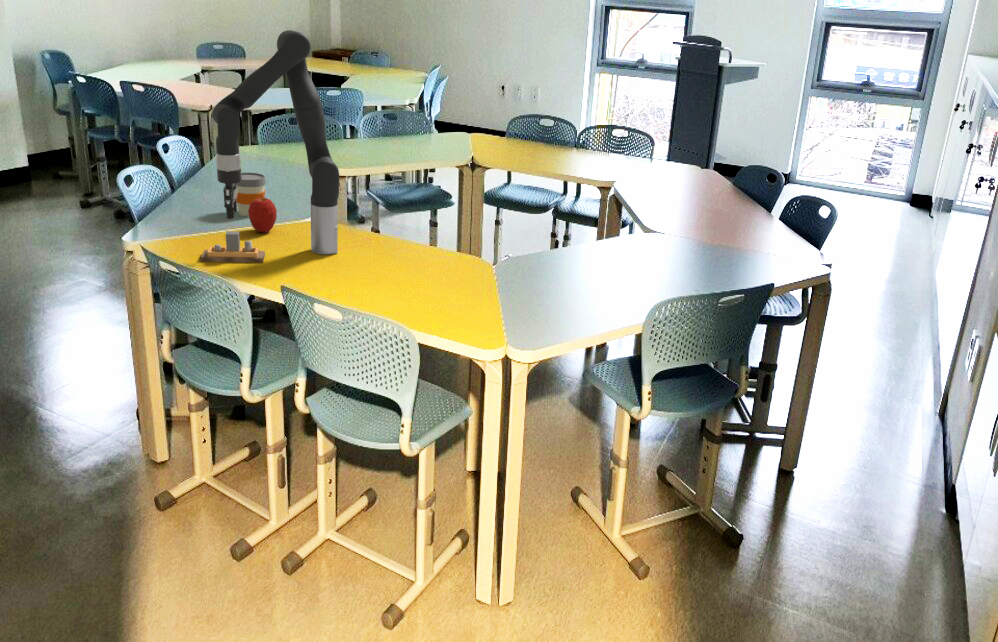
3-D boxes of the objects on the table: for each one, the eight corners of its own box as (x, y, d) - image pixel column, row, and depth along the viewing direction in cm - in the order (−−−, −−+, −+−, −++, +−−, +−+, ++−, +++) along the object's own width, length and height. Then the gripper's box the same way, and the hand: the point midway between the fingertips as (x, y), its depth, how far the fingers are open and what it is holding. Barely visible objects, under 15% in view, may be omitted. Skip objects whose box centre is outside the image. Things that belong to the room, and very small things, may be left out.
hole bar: (258, 251, 292) (257, 230, 289) (257, 257, 287) (256, 236, 284) (210, 250, 289) (208, 229, 286) (207, 256, 284) (206, 234, 281)
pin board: (265, 255, 294) (264, 238, 292) (262, 262, 287) (262, 245, 284) (204, 253, 290) (203, 237, 288) (201, 261, 283) (199, 244, 281)
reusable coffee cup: (258, 207, 346) (256, 171, 341) (272, 215, 338) (271, 178, 332) (228, 211, 339) (226, 174, 333) (242, 219, 330) (240, 181, 324)
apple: (246, 228, 320) (244, 192, 314) (273, 226, 324) (272, 191, 319) (252, 236, 311) (251, 199, 306) (280, 234, 316) (279, 198, 311)
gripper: (219, 161, 282) (223, 209, 288) (213, 172, 269) (217, 221, 276) (243, 162, 283) (245, 209, 290) (238, 172, 270) (241, 221, 277)
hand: (232, 215), depth 283 cm, fingers open, 8 cm apart
